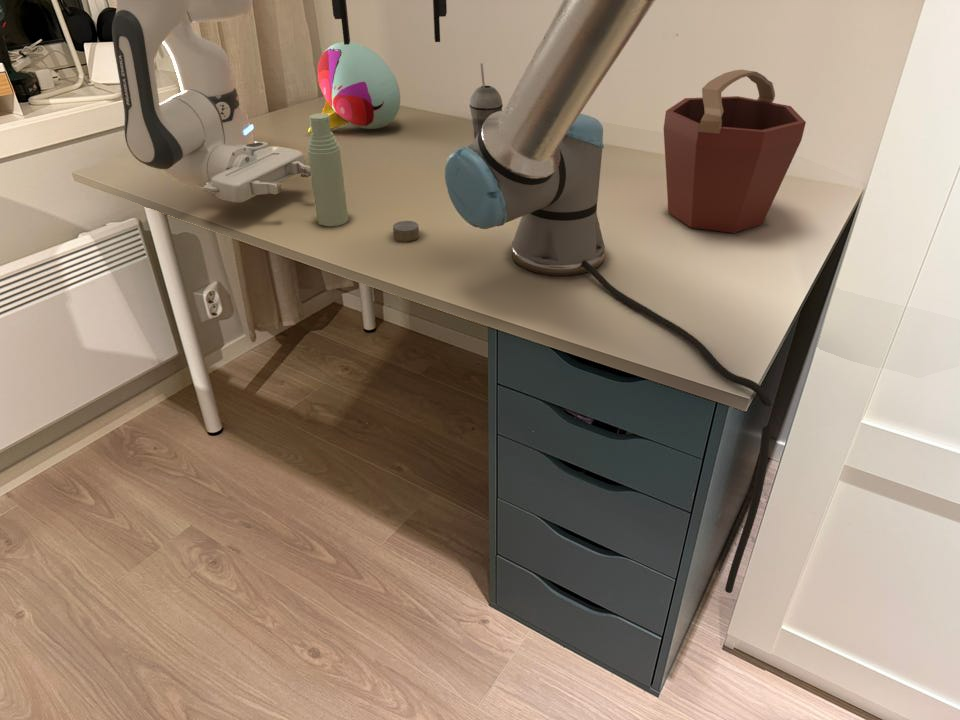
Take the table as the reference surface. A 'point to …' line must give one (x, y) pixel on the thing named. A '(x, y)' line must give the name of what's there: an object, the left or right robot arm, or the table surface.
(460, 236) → the table surface
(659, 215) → the table surface
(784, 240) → the table surface
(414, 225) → the cap
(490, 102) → the beverage cup
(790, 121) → the bucket
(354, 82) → the toy
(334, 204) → the bottle
